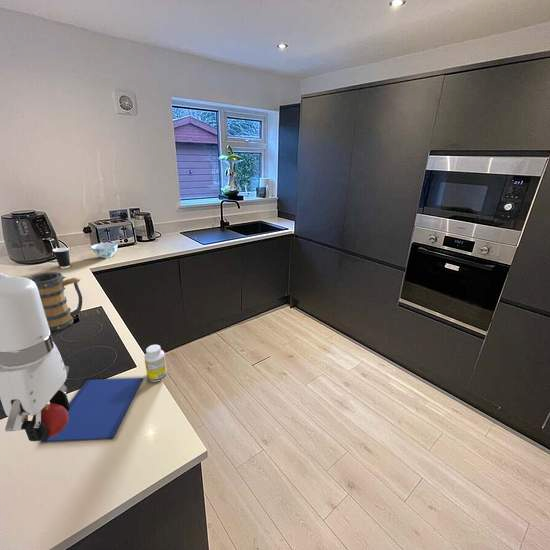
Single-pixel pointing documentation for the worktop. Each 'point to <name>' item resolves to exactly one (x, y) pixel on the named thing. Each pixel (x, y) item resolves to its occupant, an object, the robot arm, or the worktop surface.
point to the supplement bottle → (155, 363)
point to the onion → (54, 418)
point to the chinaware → (105, 249)
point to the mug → (56, 299)
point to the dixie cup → (62, 257)
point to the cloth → (98, 409)
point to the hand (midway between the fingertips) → (51, 423)
